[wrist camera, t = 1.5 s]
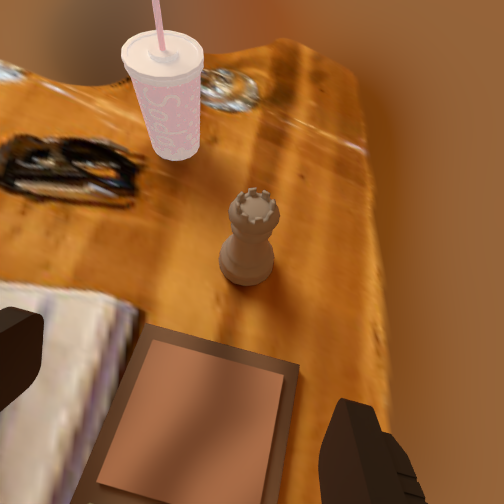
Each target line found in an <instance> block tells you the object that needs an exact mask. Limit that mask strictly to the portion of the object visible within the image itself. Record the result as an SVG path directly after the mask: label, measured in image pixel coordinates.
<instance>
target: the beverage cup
mask: <svg viewBox="0 0 504 504" xmlns="http://www.w3.org/2000/svg"><path fill="white" fill-rule="evenodd" d="M152 4H153V11H154V17H155V23H156V30H153V31H148V32H143V33H139V34H137V35H136V36H133V37H131V38H130V39H128V41H127V42H126V43H125V44H124V45H123V46H122V54H121V58H122V61H123V62H124V67H125V69H126V70H127V72H128V73H129V75H130V76H131V79H132V82H133V85H134V88H135V92H136V95H137V98H138V101H139V104H140V108H141V111H142V114H143V117H144V120H145V124H146V127H147V130H148V133H149V136H150V139H151V143H152V146H153V148H154V150H155V152H156V153H157V154H158V155H159V156H161V157H162V158H164V159H168V160H172V161H176V160H184V159H187V158H190V157H191V156H193V155H194V154H195V153H196V152H197V150H198V148H199V140H200V73H201V71H202V69H203V68H204V67H203V61H204V57H203V49H202V47H201V46H200V45H199V44H198V42H197V41H196V40H195V39H193V38H191V37H189V36H187V35H186V34H183V33H179V32H175V31H170V30H163V25H162V18H161V10H160V3H159V0H152Z"/></svg>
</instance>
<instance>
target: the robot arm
mask: <svg viewBox="0 0 504 504" xmlns="http://www.w3.org/2000/svg"><path fill="white" fill-rule="evenodd" d="M43 330H44V319H43V317H42V316H41V315H40V314H37V313H34V312H30V311H26V310H23V309H19V308H15V307H6V308H4V309H2V310H0V412H1V411H2V410H3V409H4V408H5V407H7V406H8V405H9V404H10V403H11V402H13V401H14V400H15V399H16V398H17V397H18V396H20V395H21V394H22V393H23V392H24V391H25V390H27V389H28V388H29V387H30V385H31V384H32V383H33V382H34V380H35V379H36V377H37V375H38V373H39V370H40V367H41V360H42V345H43ZM318 471H319V481H320V491H321V500H322V504H428V503H426V502H425V496H424V494H423V491H422V489H421V486H420V484H419V482H417V477H416V474H415V472H414V470H413V467H412V465H411V463H410V460H409V458H408V456H407V454H406V453H405V451H404V450H403V449H402V447H401V446H400V445H399V444H398V442H397V441H396V440H395V439H394V437H393V436H392V435H391V434H389V433H385V432H382V431H381V428H380V425H379V422H378V419H377V417H376V414H375V411H374V409H373V407H371V406H369V405H366V404H362V403H358V402H355V401H351V400H347V399H344V398H341V399H340V400H339V401H338V403H337V405H336V407H335V410H334V413H333V415H332V418H331V421H330V423H329V426H328V429H327V431H326V434H325V437H324V439H323V442H322V445H321V449H320V454H319V464H318Z"/></svg>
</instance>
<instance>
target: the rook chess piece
mask: <svg viewBox="0 0 504 504" xmlns="http://www.w3.org/2000/svg"><path fill="white" fill-rule="evenodd" d="M228 213H229V219H230V221H231V222H232V223H231V228H232V232H233V234H232V235H231V236H229V237H228V239H227V240H226V241H225V242H224V243H223V245H222V248H221V251H220V256H219V265H220V269H221V271H222V272H223V274H224V276H225V277H226V278H227V279H229V280H230V281H232V282H233V283H235V284H239V285H243V286H251V285H257V284H259V283H261V282H262V281H264V280H266V279H267V277H268V276H269V275H270V273H271V272H272V268H273V264H274V253H273V248H272V246H271V244H270V243H269V241H268V238H269V237H270V236H271V234H272V230H273V229H274V228H275V227H276V225H277V224H278V222H279V217H280V213H279V209H278V207H277V205H276V202H275V199H273V200H272V199H270V193H269V192H267V191H266V190H263V192H262V194H260V193H256V188H249V189H248V193H246V194H244V193H243V192H242V191H241V192H240V193H239V194H238V195H237V198H236V199H235V200H234V201H233V202H232V203H231V204H230V207H229V210H228Z"/></svg>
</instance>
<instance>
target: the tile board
mask: <svg viewBox="0 0 504 504" xmlns="http://www.w3.org/2000/svg"><path fill="white" fill-rule="evenodd" d="M299 366H300V365H298V364H295V363H291V362H287V361H284V360H280V359H276V358H273V357H269V356H265V355H262V354H258V353H254V352H251V351H247V350H243V349H239V348H236V347H232V346H228V345H225V344H221V343H217V342H214V341H210V340H206V339H203V338H199V337H195V336H192V335H188V334H184V333H181V332H177V331H173V330H170V329H166V328H162V327H158V326H155V325H151V324H147V323H146V324H145V326H144V328H143V331H142V333H141V335H140V338H139V340H138V343H137V345H136V347H135V350H134V352H133V354H132V357H131V359H130V362H129V364H128V366H127V369H126V371H125V374H124V376H123V378H122V381H121V383H120V385H119V388H118V390H117V393H116V395H115V397H114V400H113V402H112V404H111V407H110V409H109V412H108V414H107V416H106V419H105V421H104V424H103V426H102V428H101V431H100V433H99V435H98V438H97V440H96V443H95V445H94V447H93V450H92V452H91V454H90V457H89V459H88V462H87V464H86V466H85V469H84V471H83V474H82V476H81V478H80V481H79V483H78V485H77V488H76V490H75V493H74V495H73V497H72V500H71V502H70V504H277V502H278V496H279V490H280V483H281V477H282V471H283V465H284V459H285V453H286V446H287V440H288V434H289V428H290V422H291V416H292V409H293V403H294V397H295V391H296V385H297V379H298V373H299Z"/></svg>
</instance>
